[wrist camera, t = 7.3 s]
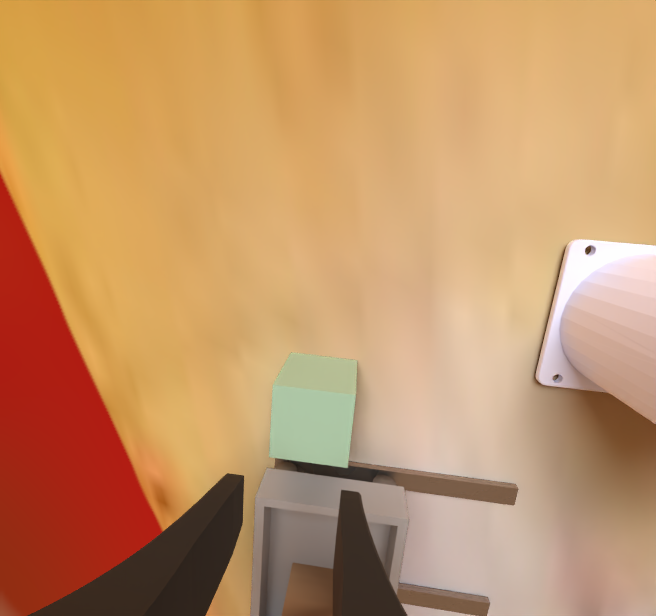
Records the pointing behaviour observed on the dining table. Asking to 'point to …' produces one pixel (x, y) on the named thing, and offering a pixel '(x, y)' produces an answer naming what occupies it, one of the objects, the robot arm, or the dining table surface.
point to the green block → (313, 410)
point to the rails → (431, 485)
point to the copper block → (309, 591)
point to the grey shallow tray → (316, 528)
